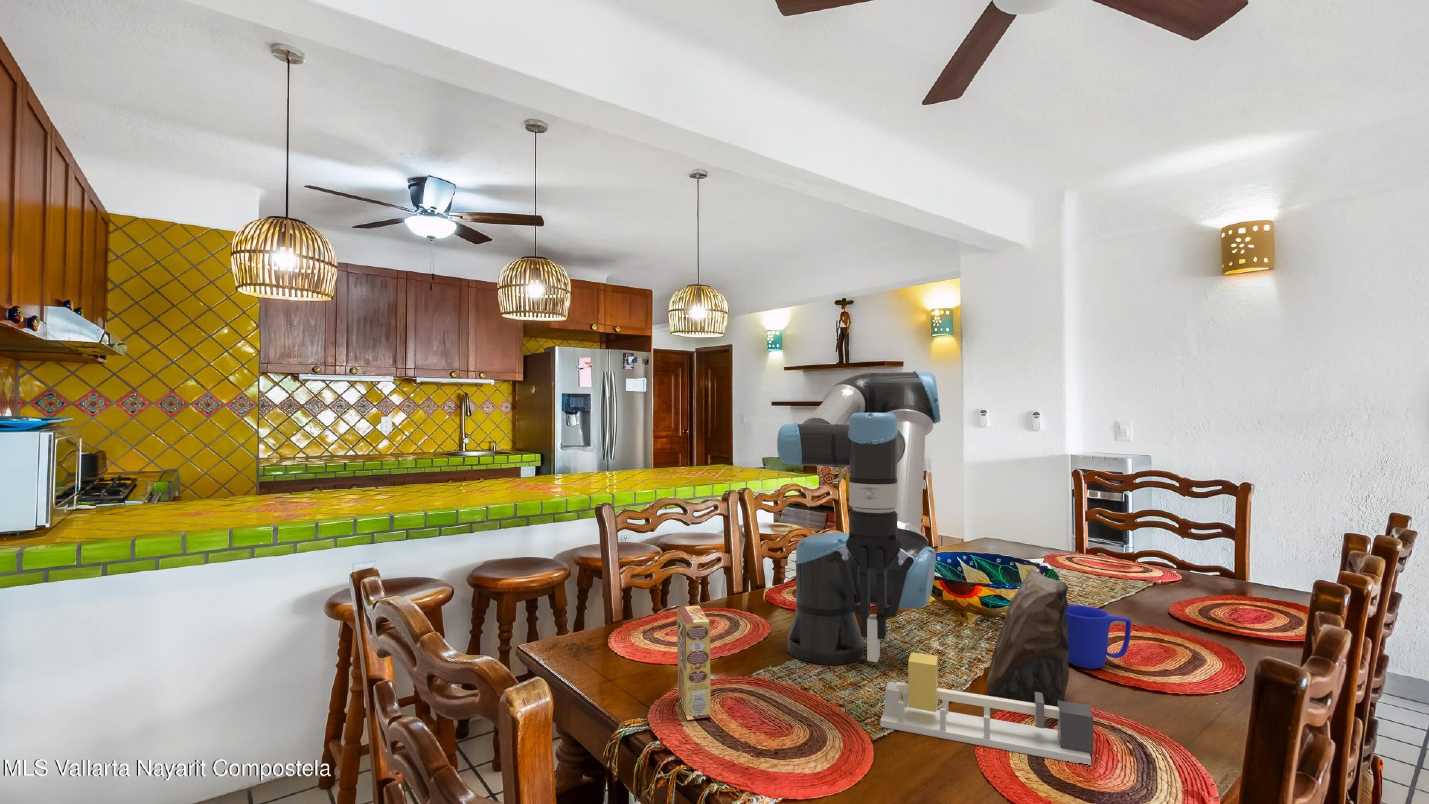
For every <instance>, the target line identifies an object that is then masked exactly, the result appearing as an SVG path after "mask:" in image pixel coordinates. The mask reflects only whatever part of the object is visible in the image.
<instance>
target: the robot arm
mask: <svg viewBox="0 0 1429 804" xmlns="http://www.w3.org/2000/svg"><path fill="white" fill-rule="evenodd" d="M940 411H941V410H940V403H939V395H938V387H937V379H936V377H935V374H933V373H932V372H929V371H917V370H913V371H910V372H908V371H907V372H906V371H905V372H904V371H903V372H900V371H899V372H864V373H859V374H855V375H853V376H849V377H847V378H845V379H843V380H840V381H839V382H837V383H836V384H834V385H832V386H831V388H829V390H827V391H826V393H824V396H823V399H822V403H821V404H820V405H819V406H818V407H817V408H816V409H815V410H814V411H813V412H812V413H811V414H810V415H809V416H808V417H807V418H806V419H805V420H804V421H803V422H802V423H797V422H794V423H788V424H782V425H781V426H780V428H779V430H778V433H777V439H776V447H777V456H778V458H779V460H780V461H781V463H783V464H786V465H796V466H798V467H801V466H819V467H820V466H821V467H824V466H826V467H828V466H829V467H848V468H849V469H848V470H849V471H848V472H849V473H848V475H849V476H848V505H849V506H850V507H852V509H850V511H848V530H849V531H848V532H840V531H838V532H824V533H817V534H813V535H808V536H805V537H803V538H801V539H800V540H799V541H798V543H797V544H796V554H795V557H796V558H795V561H794V563H795V564H794V565H795V599H796V603H795V606H796V607H795V614H794V615H793V616H794V617H793V620H792V622H791V625H790V629H789V631H788V632H789V633H788V636H787V651H788V653H789V654H790V655H792V657H795V658H797V659H799V660H801V661H804V662H807V663H813V664H818V665H844V664H849V663H854V662H857V661H859V660H860V659H862V658H863V657H864V654H865V648H864V647H865V643H864V639H863V638H865V639H866V640H867V641H866V642H867V645H866V646H867V647H866V648H867V649H866V651H867V656H866V657H867V661H868V662H874V663H878V661H879V658H880V654H881V653H880V651H881V650H880V649H881V648H880V647H881V646H880V645H881V642H880V641H881V640H883V641H884V640H885V638H886V636H887V619H888V618H894V617H896V616H897V614H898V612H899V609H900V610H904V609H914V610H920V609H924V608H925V607H926V606H927V605H928V603H929V601H930V599H931V595H932V590H933V586H934V580H935V573H936V572H935V570H936V561H937V559H936V558H937V556H936V555H937V554H936V553H937V552H936V549H935V548H933V547H931V546H929V539H928V538H927V536H925V535H924V533H923V532H922V517H923V515H922V514H923V495H924V494H923V492H924V491H923V489H924V476H925V475H924V471H925V453H926V452H925V450H926V449H925V448H926V436H928V435H929V434H931V432H932V431H933V428H934V424H935V425H936V424H937V423H940V422H941V414H940V413H941V412H940ZM872 605H875V606H876V614H873V613H872V614H871V611H872V608H871V606H872ZM856 614H857V615H859V617H860V626H859V623H858V620H857V617H856Z"/></svg>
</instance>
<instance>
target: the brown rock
mask: <svg viewBox="0 0 1429 804" xmlns="http://www.w3.org/2000/svg"><path fill="white" fill-rule="evenodd" d="M1068 589H1069V586H1068V585H1067V583H1066V582H1065V581H1063V580H1056V579H1054V578H1050V577H1047V576H1045V575H1043V574H1042V573H1041V572H1040V571H1038V570H1034V569H1029V571H1028V574H1026V576H1025V578H1024V579H1023V580H1022V582H1021V584H1020V586H1019V588H1018V590H1017V591H1016V592H1015V594H1014V595H1013V597H1012V599H1011V600H1010V602H1009V604H1008V608H1007V610H1006V615H1005V618H1004V621H1003V623H1002V626H1001V629H1000V631H999V633H998V636H997V638H996V639H997V640H996V642H995V645H994V649H993V652H992V655H991V661H990V664H989V666H988V667H989V669H988V675H987V679H986V683H987V691H986V695H989V696H990V695H991V696H993V697H998V698H1004V699H1011V700H1017V701H1023V702H1030V703H1035V692H1039V693H1042V695H1043V700H1044V705H1049V706H1055V707H1058V706H1057V700H1059V701H1066V697H1065V696H1066V691H1067V687H1068V683H1069V678H1070V670H1069V669H1070V668H1069V667H1070V666H1069V664H1070V663H1069V662H1068V658H1069V653H1068V651H1069V649H1070V646H1069V644H1068V636H1069V632H1068V625H1067V623H1066V612H1067V608H1068V605H1069V602H1068V598H1067V595H1068V591H1069V590H1068Z"/></svg>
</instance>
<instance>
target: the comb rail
mask: <svg viewBox="0 0 1429 804" xmlns="http://www.w3.org/2000/svg"><path fill="white" fill-rule="evenodd" d="M937 699H938V700H942V701H941V702H942V707H940V708H939V709H937V711H936V712H932V711H926V710H921V709H915V708H909V685H908V682H902V681H896V682H893V681H887V684H886V687H885V706H884V710H883V712H882V714H881V717H880V721H879V722H880V727H881V728H886V729H891V730H897V731H902V732H907V733H913V734H918V735H924V736H929V737H934V738H940V739H944V740H950V741H955V742H961V743H966V744H972V745H977V746H983V747H988V748H993V749H998V750H1004V751H1008V752H1015V753H1021V754H1025V755H1030V756H1035V757H1042V758H1046V759H1053V760H1058V761H1063V762H1067V761H1069V763H1073V764H1078V763H1083V764H1088V765H1087V766H1089V765H1091V766H1092V758H1091V754H1094V715H1093V713H1092V710H1091V707H1090V705H1089V704H1085V703H1084V704H1083V703H1078V702H1072V701H1071V702H1070V701H1066V700H1065V701H1059V700H1057V706H1058V707H1055V706H1049V705H1044V700H1043V695H1042V693H1039V692H1035V703H1030V702H1023V701H1017V700H1011V699H1005V698H1001V697H997V696H993V695H991V696H990V695H984V694H980V693H979V694H978V693H972V692H966V691H958V690H955V689H954V690H953V689H947V688H941V687H940V688H939V687H938V688H937ZM949 702H951V703H952V702H953V703H958V704H959V703H960V704H966V705H972V706H977V707H983V716H977V715H971V714H964V713H959V712H954V711H953V712H952V711H949ZM991 709H997V710H1002V711H1009V712H1013V713H1014V712H1015V713H1019V714H1026V715H1032V716H1034V720H1035V725H1029V724H1023V723H1017V722H1011V721H1006V720H1001V719H1000V720H999V719H994V718H991ZM1045 718H1051V719H1056V720H1057V729H1053V728H1047V727H1045ZM1083 764H1082V765H1083Z"/></svg>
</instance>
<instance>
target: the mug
mask: <svg viewBox="0 0 1429 804" xmlns="http://www.w3.org/2000/svg"><path fill="white" fill-rule="evenodd" d="M1112 622H1125V626H1124V627H1125V628H1124V636H1123V637H1124V638H1123V642H1122V646H1121V648H1120V650H1119V651H1117V652H1116V653H1111V652H1108V651H1109V650H1108V647H1109V645H1108V644H1109V632H1110V627H1111V624H1112ZM1066 623H1067V625H1068V632H1069V636H1068V644H1069V646H1070V649H1069V651H1068V653H1069V658H1068V664H1071V665H1074V666H1076V667H1078V668H1081V669H1089V670H1090V669H1091V670H1096V669H1097V670H1098V669H1101V668H1102V667H1104V665H1105V664H1106V660H1107V657H1109V658H1113V659H1120V658H1122V657H1124V656H1125V655H1126V653H1127V652H1128V649H1129V645H1130V641H1131V633H1132V632H1131V631H1132V620H1131V618H1128V617H1124V616H1116V615H1110V614H1109V612H1107V611H1105V610H1102V609H1100V608H1097V607H1093V606H1088V605H1079V604H1068V608H1067V612H1066Z"/></svg>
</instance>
